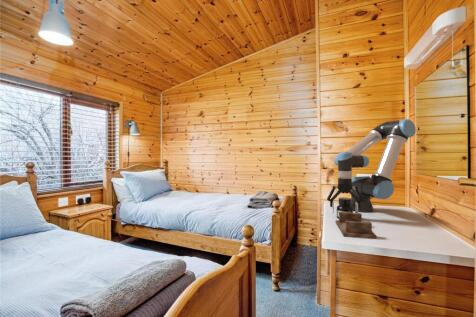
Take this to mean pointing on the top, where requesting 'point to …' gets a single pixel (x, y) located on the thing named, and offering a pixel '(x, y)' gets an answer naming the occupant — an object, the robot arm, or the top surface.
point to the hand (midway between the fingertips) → (344, 212)
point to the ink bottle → (344, 206)
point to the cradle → (354, 226)
